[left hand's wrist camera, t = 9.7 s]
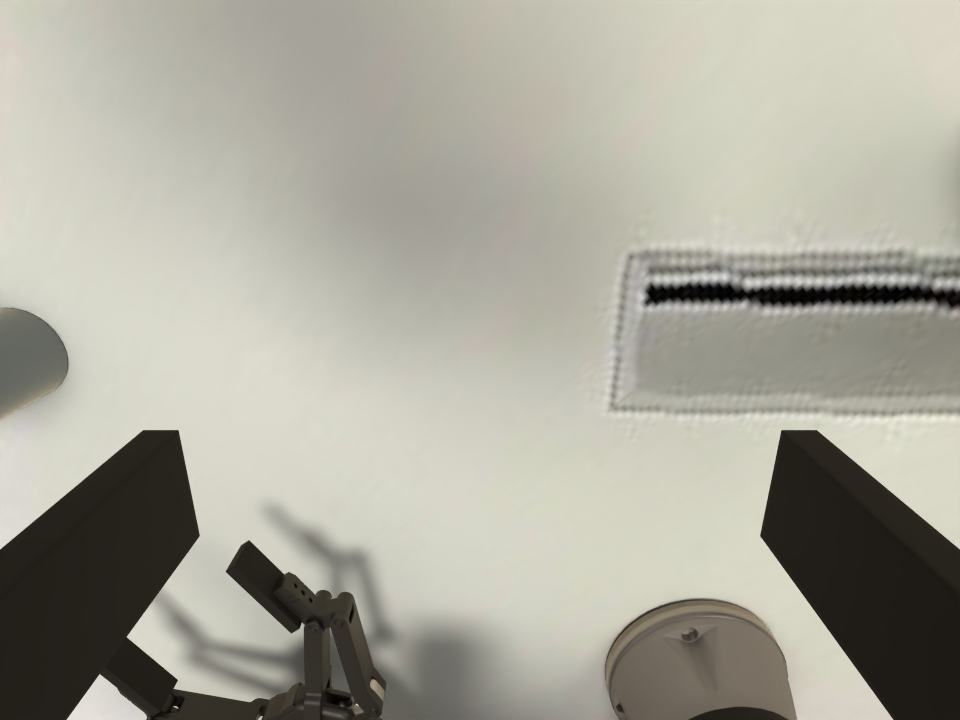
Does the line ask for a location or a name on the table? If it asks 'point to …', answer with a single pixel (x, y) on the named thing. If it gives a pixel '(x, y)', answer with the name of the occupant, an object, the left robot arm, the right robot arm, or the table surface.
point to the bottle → (28, 360)
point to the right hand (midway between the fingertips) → (166, 600)
